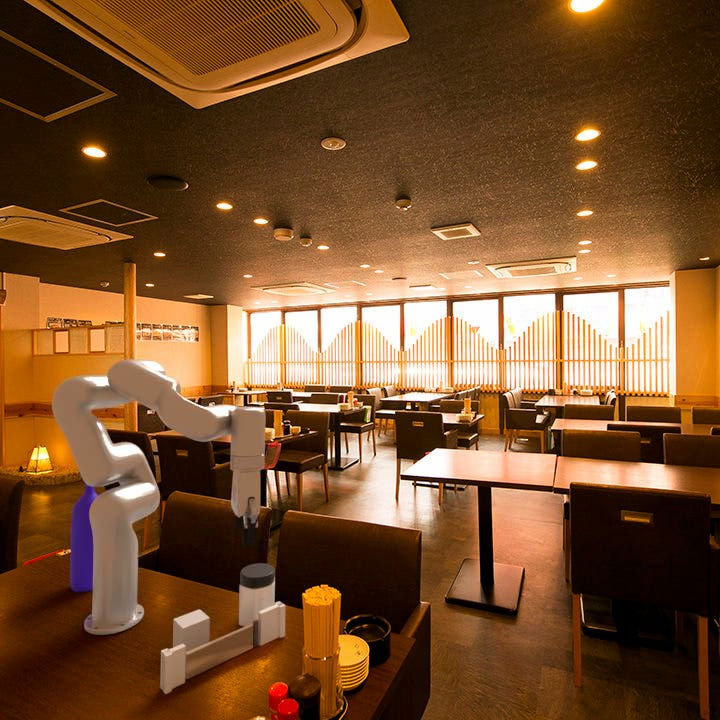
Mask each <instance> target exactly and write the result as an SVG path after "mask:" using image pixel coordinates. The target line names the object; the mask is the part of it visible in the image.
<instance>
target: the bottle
mask: <svg viewBox="0 0 720 720" xmlns="http://www.w3.org/2000/svg"><path fill="white" fill-rule="evenodd" d="M94 488H95V487H91V486H88V485H87V484H86V483H85V489H84V493H83V494H82V495H81V496H80V498H79V499H78V500H76V502H75V503H74V505H73V508H72V511H71V525H70V526H71V530H70V560H69V561H70V566H69V567H70V569H69V570H70V571H69V572H70V573H69V575H70V576H69V578H70V589H71V590H72V592H75V593H85V592H86V593H87V592H91V591H93V533H92V527H91V523H90V517H89V511H90V507H91V504H92V503H93V501H94V500H95V499H96V498H97V497H98V496H99V495H98V494H97V493H96V492H95V489H94Z"/></svg>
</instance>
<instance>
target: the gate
mask: <svg viewBox="0 0 720 720" xmlns="http://www.w3.org/2000/svg"><path fill="white" fill-rule="evenodd" d="M258 623H259V621H258V620H254V621H253V625H252V624H250V625H247V626H245V627H244V626H242V627H240V628H239V629H237V630H234V631H232V632H229V633H228V634H224V635H223V636H221V637H218V638H215V639H214V640H211V641H209V643H206V644H204V645H202V646H199V647H197V648H195V649H193V650H190V651H188V652H186V656H185V680H189V679H191V678H193V677H195V676H198V675H200V674H202V673H203V672H204V673H205V672H206V671H208V670H210V669H212V668H214V667H216V666H219V665H220V664H222V663H225V662H226V661H228V660H230V659H232V658H234V657H237V656H239V655H242V654H243V653H245V652H247V651H249V650H252V649H253V648H257V647H258V646H259V644H258Z"/></svg>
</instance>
